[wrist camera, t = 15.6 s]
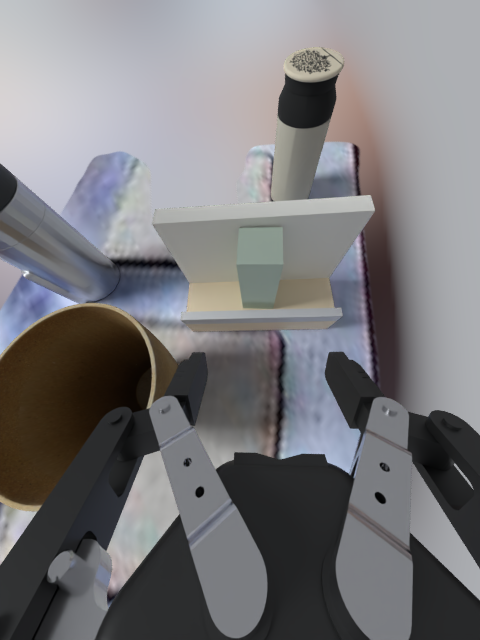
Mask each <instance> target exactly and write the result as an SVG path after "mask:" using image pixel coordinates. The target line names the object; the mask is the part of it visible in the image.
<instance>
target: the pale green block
mask: <svg viewBox="0 0 480 640" xmlns="http://www.w3.org/2000/svg"><path fill="white" fill-rule="evenodd" d="M236 266H237V272H238V279H239V286H240V292H241V299H242V306H243V308H251V309H273V307H274V303H275V298H276V294H277V290H278V286H279V281H280V277H281V273H282V269H283V227H263V228H239V233H238V247H237V262H236Z"/></svg>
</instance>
